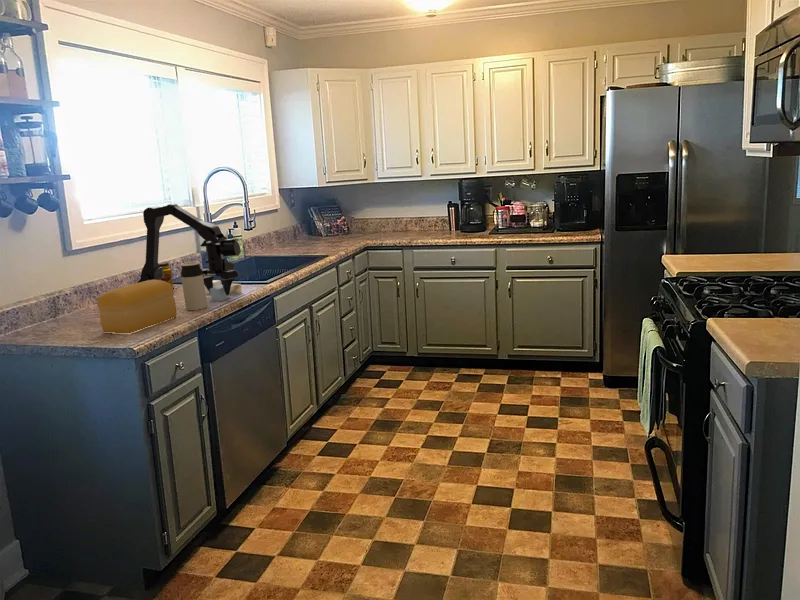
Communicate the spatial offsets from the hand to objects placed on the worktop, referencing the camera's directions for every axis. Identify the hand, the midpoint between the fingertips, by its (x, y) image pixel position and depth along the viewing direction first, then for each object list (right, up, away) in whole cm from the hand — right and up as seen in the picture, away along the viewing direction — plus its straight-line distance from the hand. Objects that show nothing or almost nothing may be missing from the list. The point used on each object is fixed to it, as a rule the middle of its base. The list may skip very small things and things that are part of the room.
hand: (219, 294), depth 273 cm
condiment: (-34, +3, +34) cm, 48 cm away
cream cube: (-7, +1, +17) cm, 18 cm away
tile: (+4, -1, +4) cm, 6 cm away
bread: (-19, -12, -33) cm, 40 cm away
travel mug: (-5, -6, -13) cm, 15 cm away
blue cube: (0, -2, +1) cm, 2 cm away
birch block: (+3, 0, +9) cm, 10 cm away
